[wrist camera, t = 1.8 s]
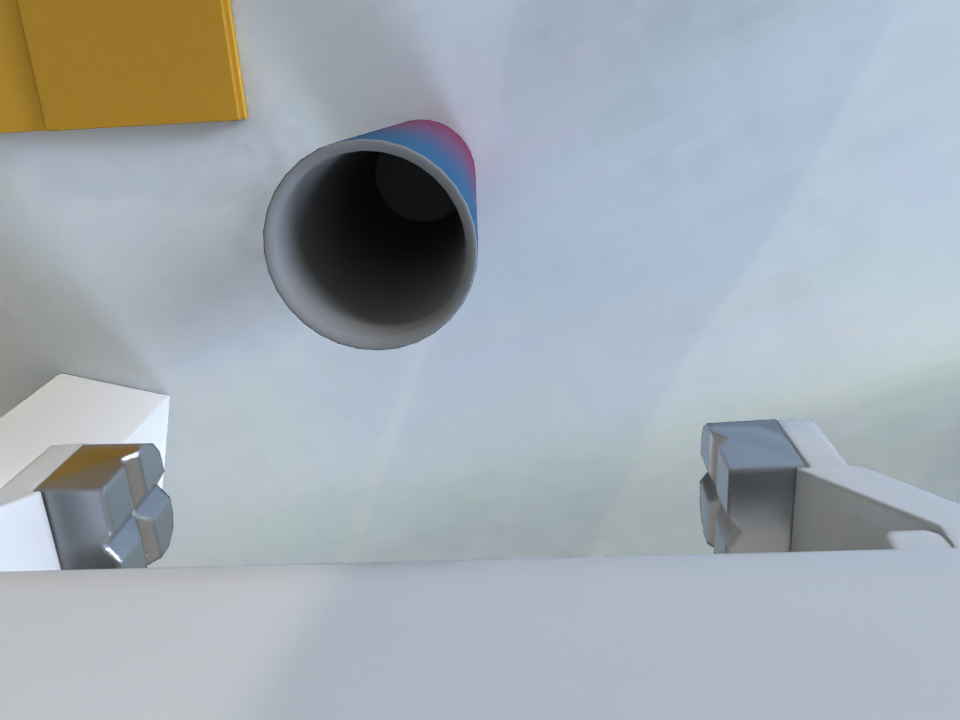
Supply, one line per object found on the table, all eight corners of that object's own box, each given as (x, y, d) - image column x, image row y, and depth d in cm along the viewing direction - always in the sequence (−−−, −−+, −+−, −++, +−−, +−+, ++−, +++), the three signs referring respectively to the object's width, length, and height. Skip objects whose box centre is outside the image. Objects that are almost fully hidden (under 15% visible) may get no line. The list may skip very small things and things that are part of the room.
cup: (373, 257, 43) (300, 369, 29) (333, 118, 41) (232, 167, 27) (508, 227, 42) (499, 327, 28) (475, 83, 40) (447, 114, 26)
